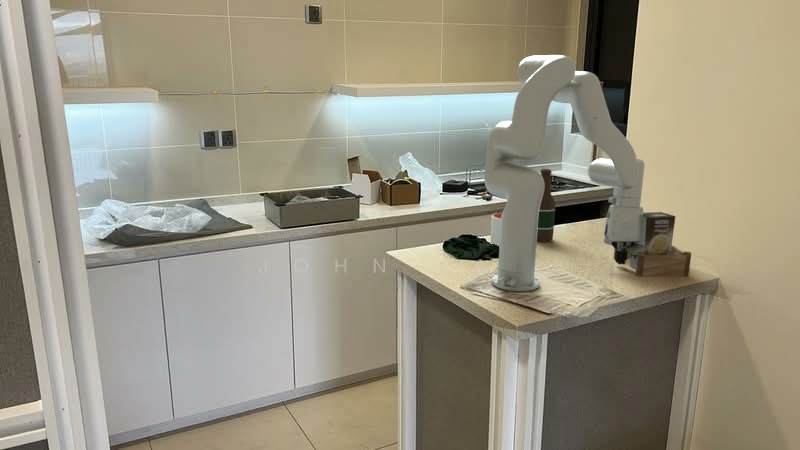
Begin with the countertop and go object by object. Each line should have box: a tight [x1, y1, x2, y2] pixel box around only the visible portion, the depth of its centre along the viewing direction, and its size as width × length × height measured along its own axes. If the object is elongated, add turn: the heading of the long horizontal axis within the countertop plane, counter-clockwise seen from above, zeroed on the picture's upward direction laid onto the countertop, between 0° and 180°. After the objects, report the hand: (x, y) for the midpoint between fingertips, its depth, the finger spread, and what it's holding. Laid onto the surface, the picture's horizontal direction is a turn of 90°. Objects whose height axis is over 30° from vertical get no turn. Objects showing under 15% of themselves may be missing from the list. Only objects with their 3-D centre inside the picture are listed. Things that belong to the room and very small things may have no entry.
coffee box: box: [629, 211, 676, 269], centre depth 182 cm, size 9×6×16 cm
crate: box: [613, 242, 692, 277], centre depth 185 cm, size 18×15×7 cm
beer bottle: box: [537, 168, 556, 243], centre depth 211 cm, size 8×8×24 cm
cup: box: [490, 212, 502, 246], centre depth 204 cm, size 10×10×10 cm
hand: (620, 263), depth 185 cm, fingers closed
